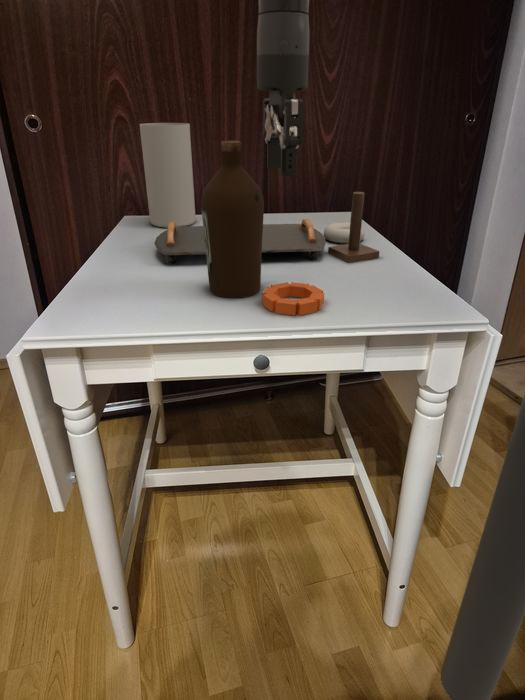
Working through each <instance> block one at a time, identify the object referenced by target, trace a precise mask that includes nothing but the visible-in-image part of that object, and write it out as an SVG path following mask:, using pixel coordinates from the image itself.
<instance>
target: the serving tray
mask: <svg viewBox="0 0 525 700" xmlns="http://www.w3.org/2000/svg"><path fill="white" fill-rule="evenodd" d="M326 244H327V241H326V238H325V236H324V233H322V232H321V231H319V230H317V229H316V228H315V227H314V225H313V222H312V221H311V220H310V219H308V218H303V219H302V220H301V223H267V224H266V223H265V224H264V223H263V233H262V254H267V253H270V254H271V253H299V252H300V253H301V252H304V253H305V252H308V253H309V254H308V255H309V258H310V260H313V261H317V260H318V258H319V257H320V252H321V251H322V250H324V248H325V246H326ZM154 246H155V248H156V250H158V251H159V252H160V253H161V254H162V255H164V256H165V262H167V264H168V265H174V264H175V262H176V260H177V259H176V256H195V255H197V256H198V255H206V247H205V238H204V228H203V225H188V226H179V227H176V223H175V222H170V223H169V225H168V228H167V229H166V230H164V231H163V232H160V234H158V236H156V238H155V241H154Z"/></svg>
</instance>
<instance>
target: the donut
mask: <svg viewBox="0 0 525 700" xmlns="http://www.w3.org/2000/svg"><path fill="white" fill-rule="evenodd" d="M349 233H350V222H333V223H330V224H327V225H326V226H325V227H324V229H323V235H324V237H325V240H327V241H329V242H332V243H335V244H349ZM365 235H366V234H365V229H364V228H363V227H362V226H361V235H360V241H362V240H363V239H364V237H365Z"/></svg>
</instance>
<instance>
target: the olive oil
mask: <svg viewBox="0 0 525 700" xmlns="http://www.w3.org/2000/svg"><path fill="white" fill-rule="evenodd" d="M220 146H221V150H220V163H221V165H220V168H219V169H218V170H217V172H216V173H215V174H214V176H213V177H212V178H211V179H210V180H209V182H207V184H206V185H205V187H204V189H203V192H202V196H201V200H200V211H201V218H202V226H203V228H204V238H205V247H206V254H205V255H206V267H207V268H206V269H207V276H208V278H207V279H208V286H209V287H208V288H209V291H210V293H211V294H213V295H215V296H218V297H221V298H229V299H230V298H231V299H240V298H246V297H250V296H254V295H255V294H257V293H259V291H260V290H261V285H262V284H261V283H262V254H263V253H262V233H263V224H264V215H265V213H264V212H265V200H264V196H263V193H262V190H261V188H260V186H259V185H258V184H257V182H256V181H255V180H254V179H253V178H252V177H251V175H250V174H249V173H248V172H247V171H246V170H245V168H244V167H243V165H242V164H243V163H242V160H243V156H242V155H243V154H242V153H243V151H242V150H241V147H242V142H241V141H240V140H222V141H221V142H220Z"/></svg>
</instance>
